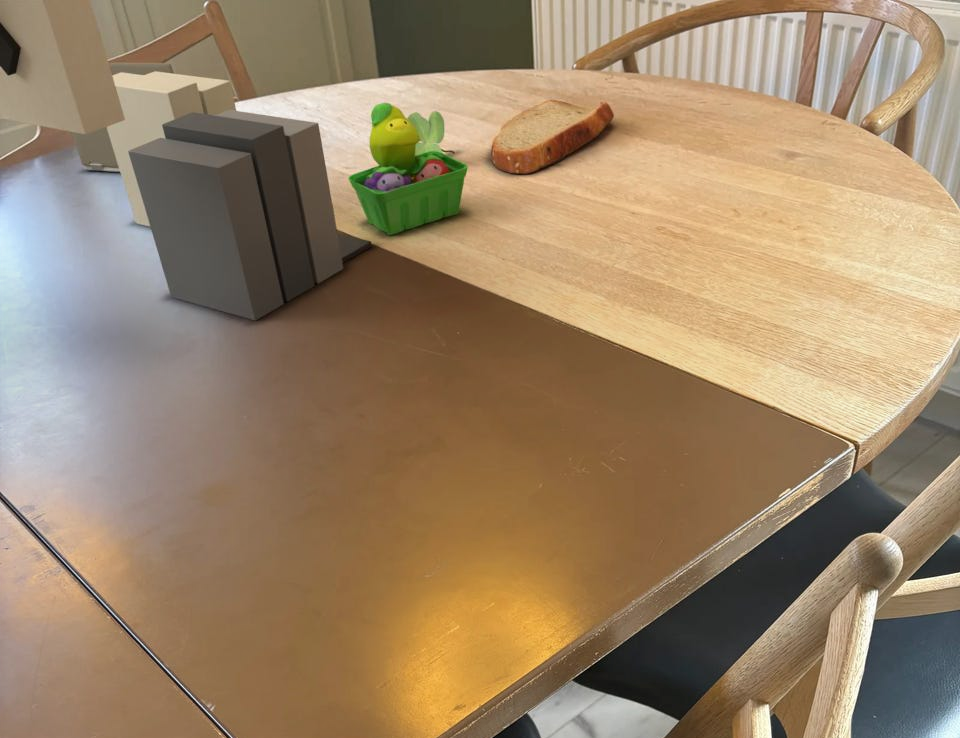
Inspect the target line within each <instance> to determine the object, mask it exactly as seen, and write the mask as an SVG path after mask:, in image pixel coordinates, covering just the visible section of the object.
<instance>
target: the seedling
mask: <svg viewBox="0 0 960 738" xmlns="http://www.w3.org/2000/svg"><path fill="white" fill-rule="evenodd" d="M406 118H407V119H408V120H409V121H410V122H411V123H412V124H413V126H414V127H415V128H416V130H417V132H418V134H419V137H420V141H419V142H418V143H417V144H416V148H415V155H418V154H422V153H426V152H429V151H438V152H441V153H452V154H455V153H456V152H455V151H454V150H451V149H448V150H445V149H443V148H441V146H440V145H439V144H440V143H442V141H443V140H444V138H445V119H444V118H443V115H442V114H441V113H440V111H437V110H434V111H431V113H430V114H429V117H428V120H427V118H425V117H424V116H422V115H421V114H420V113H419V112H417V111H415V112H412V113H410V114H409V115H408V116H407V117H406Z"/></svg>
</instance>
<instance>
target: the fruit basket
mask: <svg viewBox="0 0 960 738" xmlns="http://www.w3.org/2000/svg"><path fill="white" fill-rule="evenodd" d="M370 117H371V118H370V119H371V131H370V135H369V143H368V144H369V150H370V154H371V156H372V158H373V160H374V161H375V162H376V163H377V166H374V167H371V168H367V169H365V170H362V171H358V172H355V173H353V174H350V175H349V176H348V181H349V183H350V185H351V187H352V188H353V189H354V191H355V194H356V196H357V198H358V200H359V203H360V205H361V208H362V210H363V212H364V215H365V217H366V219H367V221H368V223H369V224H370V225H374V227H375V228H376V229H379V230H380V231H382V232H384V233H386V234H387V235H388V236H392V235H396V234H399V233H401V232H404V231H406V230H411V229H414V228H417V227H420V226H423V225H425V224H429V223H433V222H436V221H438V220H441V219H444V218H448V217H451V216H455V215H458V214H460V208H461V201H462V195H463V190H464V182H465V177H466V176H467V173H468V168H469V166H468V164H467V163H464V162H462V161H460V160H458V159H456V158H453V157H451V156H449V155H447V154H446V153H444V152H442V153H441V152H438V151H429V152H426V153H422V154H418V155H415V148H416V144H417V143H418V142H421V141H420V137H419V134H418V132H417V130H416V128H415V127H414V126H413V124H412V123H411V122H410V121H409V120H408V119H407V118H408V117H406V116H405V115H404V113H403V111H402V110H401V109H400V108H398V107H397V106H395V105H392V104H391V103H389V102H381V103H378V104H376V105H374V106H373V108H372V110H371V114H370Z"/></svg>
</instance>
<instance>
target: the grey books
mask: <svg viewBox="0 0 960 738" xmlns="http://www.w3.org/2000/svg"><path fill="white" fill-rule="evenodd" d="M162 127H163V131H164V135H165V138H166V139H165V138H158V139H156V140H154V141H151V142H149V143H146V144H144V145H141V146H139V147H136V148H134V149H132V150H129V151H128V153H129V156H130V160H131V163H132V166H133V170H134V173H135V177H136V180H137V183H138V187H139V190H140V193H141V197H142V200H143V203H144V207H145V210H146V214H147V217H148V220H149V224H150V227H149V228H150V231H151V234H152V237H153V241H154V243H155V247H156V250H157V254H158V257H159V261H160V264H161V268H162V271H163V274H164V278H165V280H166V284H167V288H168V291H169V295H170V297H171V298H174V299H177V300H181V301H184V302H187V303H191V304H194V305H198V306H202V307H205V308H208V309H212V310H215V311H219V312H223V313H227V314H230V315H234V316H236V317H241V318H243V319H247V320H252V321H255V322H256V321H258V320H259V319H262V318H263V317H264V316H267V314H270V313H271V312H273V311H274V310H277V309H278V308H280V307H281V306H283V305H284V302H287V303H288V302H290V301H292V300H293V299H295V298H297V297H298V296H300V295H301V294H303V293H305V292H307V291H309V290H311V289H312V288H314V287H315V284H316V285H319V284H320V283H322V282H324V281H325V280H327V279H329V278H330V277H333V276H334V275H336V274H338V273H339V272H341V271H342V270H344V263H346V262H348V261H350V260H352V259H353V258H355V257H357V256H359V255H360V254H362V253H363V252H366V251H367V250H369V249H370V248H372V247H373V243H372V241H371V240H367V239H363V238H357V237H353V236H349V235H343V234H339V233H338V229H337V223H336V217H335V212H334V205H333V201H332V195H331V189H330V188H331V187H330V183H329V177H328V176H329V175H328V170H327V166H326V159H325V153H324V148H323V142H322V136H321V130H320V123H318V122H315V121H307V120H301V119H294V118H288V117H287V118H286V117H281V116H274V115H267V114H261V113H253V112H247V111H240V110H236V111H234V110H227V111H225V112H222V113H220V114H217V115H215V116H214V115H208V114H201V113H195V112H192V113H189V114H187V115H184V116H182V117H179V118H177V119H174V120H172V121H169V122H167V123H164V124H162Z"/></svg>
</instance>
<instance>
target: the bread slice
mask: <svg viewBox="0 0 960 738" xmlns="http://www.w3.org/2000/svg"><path fill="white" fill-rule="evenodd" d="M599 103H600V104H599V106H597V107H594V108H586V107H582V106H578V105H574V104H572V103H569V102H565V101H562V100H557V99H547V100H546V101H543V102H542V103H539V104H537V105H535V106H532V107H530V108H528V109H526V110H522V111H521V112H520V113H519V114H516V115H514V117H512V119H509V120H507V121H506V122H505V123H503V125H502V126H501V127H500V132H499V133H498V134H497V135H496V136H495V137H494V138H493V140H492V144H491V149H490V159H491V162H492V164H493V165H494V166H495V167H496V168H498V169H499V170H501V171H503V172H507V173H509V174H517V175H526V174H531V173H534V172H537V171H539V170H540V169H543V168H546V167H548V166H550V165H554V164H555V163H556V162H558V161H561V160H563V159H564V158H565V156H566V157H567V156H569V155H571V154H572V153H573V152H575V151H578V150H579V149H581V148H582V147H583V146H585V145H587V144H588V143H589V142H590V141H592V140H594V139H596V138H597V137H598V136H599V135H600V134H601V133H602V131H604V129H605V128H606V127H607V125H609V124H610V123H611V121H613V119H614V117H615V113H614V111H613V109H612V107H611V106H610V105H609V103H607V102H606V101H604V102H603V101H599Z"/></svg>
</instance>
